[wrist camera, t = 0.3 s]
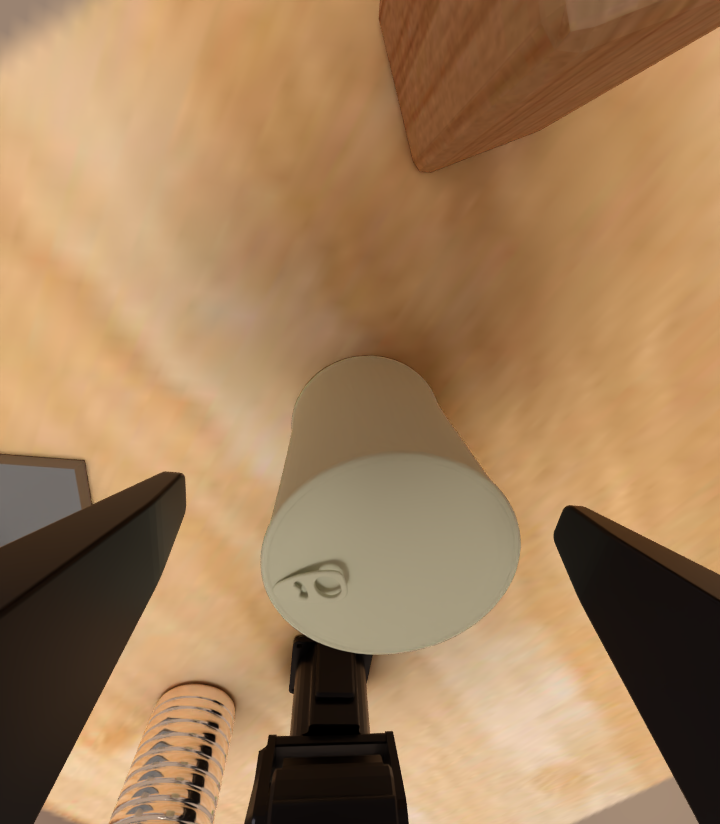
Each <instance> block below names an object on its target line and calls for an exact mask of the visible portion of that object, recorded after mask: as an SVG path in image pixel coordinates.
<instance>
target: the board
mask: <svg viewBox="0 0 720 824" xmlns="http://www.w3.org/2000/svg"><path fill="white" fill-rule="evenodd" d="M90 505H92V503H91V497H90V491H89V485H88V479H87V473H86V467H85V461H82V460H69V459H56V458H42V457H29V456H16V455H3V454H0V547H2V546H4V545H6V544H8V543H10V542H13V541H15V540H17V539H19V538H21V537H23V536H25V535H28V534H30V533H32V532H34V531H36V530H38V529H41V528H43V527H45V526H47V525H49V524H51V523H54V522H56V521H58V520H60V519H62V518H64V517H67V516H69V515H71V514H73V513H75V512H77V511H80V510H82V509H84V508H86V507H88V506H90Z"/></svg>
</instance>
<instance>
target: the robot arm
mask: <svg viewBox="0 0 720 824" xmlns="http://www.w3.org/2000/svg"><path fill="white" fill-rule="evenodd" d="M185 510H186V486H185V476H184V475H183V474H182V473H177V472H162V473H159V474H157V475H155V476H153V477H151V478H149V479H147V480H144V481H142V482H140V483H138V484H136V485H134V486H131V487H129V488H127V489H125V490H123V491H121V492H118V493H116V494H114V495H112V496H110V497H108V498H105V499H103V500H101V501H99V502H97V503H95V504H93V505H90V506H88V507H86V508H84V509H82V510H80V511H77V512H75V513H73V514H71V515H69V516H67V517H64V518H62V519H60V520H58V521H56V522H54V523H51V524H49V525H47V526H45V527H43V528H41V529H38V530H36V531H34V532H32V533H30V534H28V535H25V536H23V537H21V538H19V539H17V540H15V541H13V542H10V543H8V544H6V545H4V546H2V547H0V824H34V822H35V820H36V818H37V816H38V814H39V813H40V811H41V809H42V807H43V805H44V803H45V801H46V799H47V797H48V795H49V793H50V791H51V789H52V787H53V786H54V784H55V782H56V780H57V778H58V776H59V774H60V772H61V770H62V768H63V766H64V764H65V762H66V760H67V758H68V757H69V755H70V753H71V751H72V749H73V747H74V745H75V743H76V741H77V739H78V737H79V735H80V733H81V731H82V729H83V727H84V726H85V724H86V722H87V720H88V718H89V716H90V714H91V712H92V710H93V708H94V706H95V704H96V702H97V700H98V698H99V696H100V695H101V693H102V691H103V689H104V687H105V685H106V683H107V681H108V679H109V677H110V675H111V673H112V671H113V669H114V667H115V665H116V664H117V662H118V660H119V658H120V656H121V654H122V652H123V650H124V648H125V646H126V644H127V642H128V640H129V638H130V636H131V634H132V633H133V631H134V629H135V627H136V625H137V623H138V621H139V619H140V617H141V615H142V613H143V611H144V609H145V607H146V605H147V603H148V602H149V600H150V598H151V596H152V594H153V592H154V590H155V588H156V586H157V584H158V582H159V580H160V577H161V575H162V573H163V570H164V568H165V565H166V562H167V560H168V557H169V554H170V552H171V549H172V546H173V544H174V541H175V539H176V536H177V533H178V531H179V528H180V525H181V523H182V520H183V517H184V514H185ZM554 542H555V545H556V547H557V549H558V552H559V554H560V556H561V559H562V561H563V563H564V566H565V568H566V570H567V573H568V575H569V577H570V580H571V582H572V585H573V587H574V589H575V592H576V594H577V596H578V598H579V600H580V602H581V604H582V606H583V608H584V610H585V612H586V614H587V616H588V618H589V620H590V621H591V623H592V625H593V627H594V629H595V631H596V633H597V634H598V636H599V638H600V640H601V642H602V644H603V646H604V648H605V649H606V651H607V653H608V655H609V657H610V659H611V661H612V662H613V664H614V666H615V668H616V670H617V672H618V674H619V675H620V677H621V679H622V681H623V683H624V685H625V687H626V688H627V690H628V692H629V694H630V696H631V698H632V700H633V702H634V703H635V705H636V707H637V709H638V711H639V713H640V715H641V716H642V718H643V720H644V722H645V724H646V726H647V728H648V729H649V731H650V733H651V735H652V737H653V739H654V741H655V743H656V744H657V746H658V748H659V750H660V752H661V754H662V756H663V757H664V759H665V761H666V763H667V765H668V767H669V769H670V770H671V772H672V774H673V776H674V778H675V780H676V782H677V784H678V785H679V787H680V789H681V791H682V793H683V795H684V797H685V798H686V800H687V802H688V804H689V806H690V808H691V809H692V811H693V813H694V815H695V817H696V819H697V821H698V823H699V824H720V575H719V574H717V573H715V572H713V571H711V570H709V569H707V568H705V567H703V566H701V565H699V564H697V563H695V562H693V561H691V560H689V559H688V558H686V557H684V556H682V555H680V554H678V553H676V552H674V551H672V550H670V549H668V548H666V547H664V546H662V545H660V544H658V543H656V542H654V541H652V540H650V539H648V538H646V537H644V536H642V535H640V534H638V533H636V532H634V531H632V530H630V529H628V528H626V527H624V526H622V525H620V524H618V523H616V522H614V521H612V520H610V519H608V518H606V517H604V516H602V515H600V514H598V513H596V512H594V511H592V510H590V509H588V508H586V507H583V506H573V505H569V506H566V507H565V508H564V509H563V511H562V514H561V516H560V518H559V521H558V523H557V526H556V528H555V531H554ZM371 660H372V654H360V653H353V652H347V651H343V650H338V649H335V648H332V647H329V646H326V645H323V644H321V643H319V642H316V641H314V640H312V639H311V638H309V637H297V638H295V639H294V642H293V653H292V663H291V674H290V685H289V692H290V693H292V694H294V696H293V707H292V719H291V730H290V736H277V735H269V737H268V743H267V746H266V747H265V748H263V749H262V750H260V751H259V755H258V761H257V768H256V775H255V780H254V785H253V790H252V794H251V798H250V802H249V806H248V810H247V814H246V818H245V823H244V824H409V822H408V811H407V803H406V796H405V791H404V785H403V780H402V775H401V770H400V765H399V760H398V755H397V750H396V745H395V740H394V735H393V731H385V733H372V734H370V727H369V714H368V701H367V688H366V683H367V679H368V674H369V669H370V665H371Z"/></svg>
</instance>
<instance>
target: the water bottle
mask: <svg viewBox="0 0 720 824" xmlns="http://www.w3.org/2000/svg"><path fill="white" fill-rule="evenodd" d="M234 719H235V707H234V703H233V701H232V699H231V698H230V697H229V696H228V695H227V694H226V693H225V692H224V691H222V690H220V689H218V688H216V687H213V686H210V685H205V684H186V685H181V686H178V687H175V688H173V689H171V690H169V691H168V692H166V693H165V694H164V695H163V696H162V697H161V698H160V699H159V701H158V702H157V704H156V706H155V708H154V710H153V712H152V715H151V717H150V719H149V721H148V724H147V727H146V729H145V731H144V734H143V736H142V740H141V742H140V744H139V746H138V749H137V752H136V755H135V757H134V759H133V762H132V764H131V768H130V770H129V772H128V775H127V777H126V780H125V783H124V786H123V788H122V790H121V792H120V795H119V798H118V802H117V804H116V806H115V808H114V810H113V813H112V816H111V820H110V822H109V824H213V823H214V819H215V810H216V808H217V804H218V799H219V793H220V789H221V785H222V778H223V775H224V770H225V763H226V760H227V756H228V749H229V746H230V741H231V736H232V732H233V725H234Z"/></svg>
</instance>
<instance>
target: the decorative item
mask: <svg viewBox="0 0 720 824" xmlns="http://www.w3.org/2000/svg"><path fill="white" fill-rule="evenodd" d="M379 21H380V25H381V29H382V33H383V38H384V42H385V46H386V50H387V54H388V58H389V62H390V67H391V71H392V75H393V79H394V83H395V87H396V92H397V96H398V100H399V104H400V108H401V112H402V116H403V121H404V125H405V129H406V133H407V137H408V141H409V145H410V150H411V154H412V158H413V162H414V163H415V165H416V166H417V168H418V169H419V171H422V172H433V171H435V170H438V169H440V168H443V167H446V166H448V165H451V164H453V163H456V162H459V161H461V160H464V159H466V158H469V157H472V156H474V155H477V154H479V153H482V152H485V151H487V150H490V149H493V148H495V147H498V146H500V145H503V144H506V143H508V142H511V141H513V140H516V139H519V138H521V137H524V136H526V135H529V134H532V133H534V132H537V131H539V130H541V129H543V128H545V127H547V126H548V125H550V124H552V123H553V122H555V121H557V120H559V119H560V118H562V117H564V116H566V115H567V114H569V113H571V112H573V111H574V110H576V109H578V108H579V107H581V106H583V105H585V104H586V103H588V102H590V101H592V100H593V99H595V98H597V97H598V96H600V95H602V94H604V93H605V92H607V91H609V90H611V89H612V88H614V87H616V86H618V85H619V84H621V83H623V82H624V81H626V80H628V79H630V78H631V77H633V76H635V75H637V74H638V73H640V72H642V71H644V70H645V69H647V68H649V67H650V66H652V65H654V64H656V63H657V62H659V61H661V60H663V59H664V58H666V57H668V56H669V55H671V54H673V53H675V52H676V51H678V50H680V49H682V48H683V47H685V46H687V45H689V44H690V43H692V42H694V41H695V40H697V39H699V38H701V37H702V36H704V35H706V34H708V33H709V32H711V31H713V30H715V29H716V28H718V27H720V0H380V10H379Z"/></svg>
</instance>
